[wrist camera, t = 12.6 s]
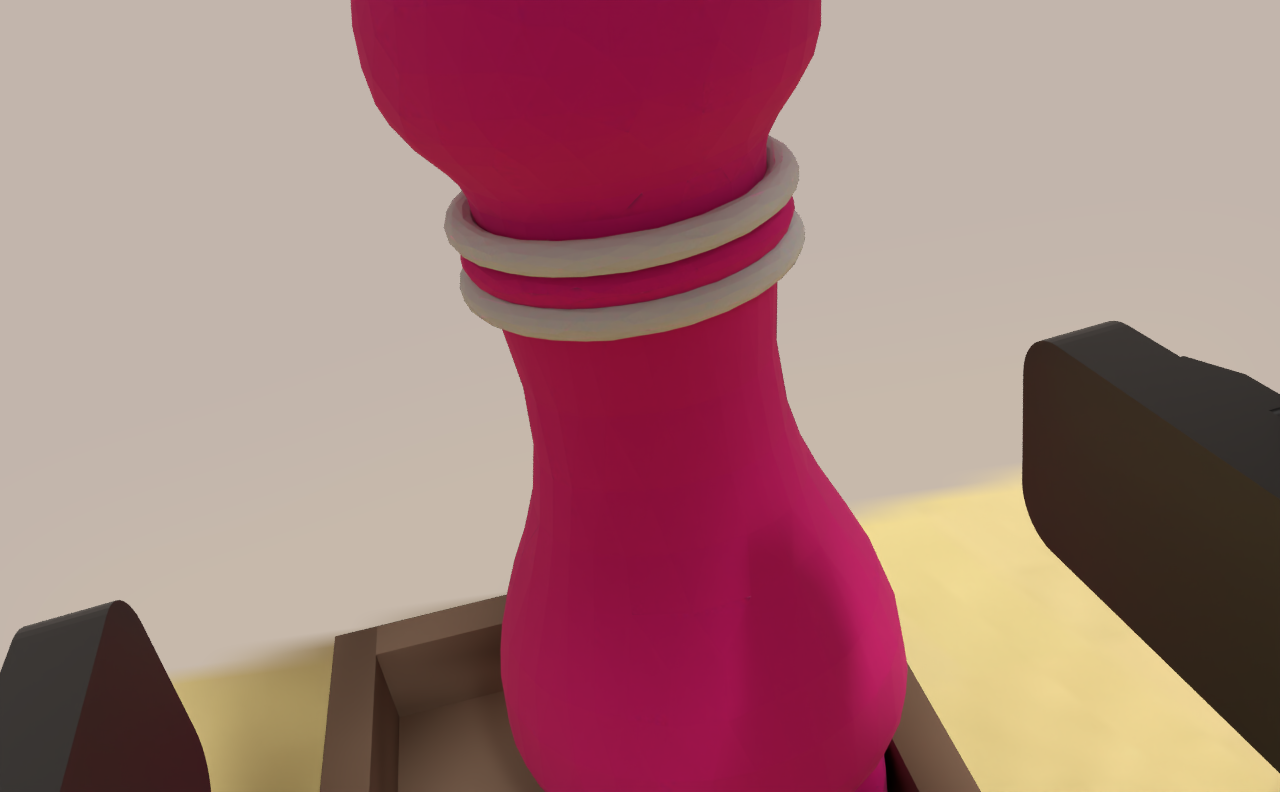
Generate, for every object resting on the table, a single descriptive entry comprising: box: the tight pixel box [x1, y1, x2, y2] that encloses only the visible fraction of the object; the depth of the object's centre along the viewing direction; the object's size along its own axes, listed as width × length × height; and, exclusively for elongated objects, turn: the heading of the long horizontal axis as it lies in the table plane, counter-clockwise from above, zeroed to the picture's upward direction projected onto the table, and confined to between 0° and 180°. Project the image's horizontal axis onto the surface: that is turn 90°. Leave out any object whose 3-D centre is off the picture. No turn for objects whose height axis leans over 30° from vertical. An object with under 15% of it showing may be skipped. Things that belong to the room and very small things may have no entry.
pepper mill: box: [351, 0, 908, 792], centre depth 17 cm, size 7×7×20 cm
